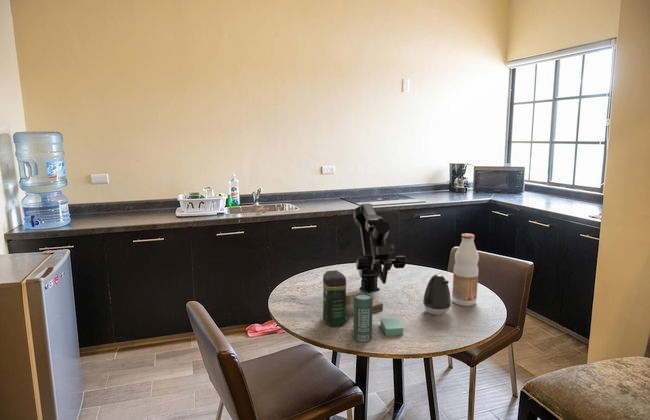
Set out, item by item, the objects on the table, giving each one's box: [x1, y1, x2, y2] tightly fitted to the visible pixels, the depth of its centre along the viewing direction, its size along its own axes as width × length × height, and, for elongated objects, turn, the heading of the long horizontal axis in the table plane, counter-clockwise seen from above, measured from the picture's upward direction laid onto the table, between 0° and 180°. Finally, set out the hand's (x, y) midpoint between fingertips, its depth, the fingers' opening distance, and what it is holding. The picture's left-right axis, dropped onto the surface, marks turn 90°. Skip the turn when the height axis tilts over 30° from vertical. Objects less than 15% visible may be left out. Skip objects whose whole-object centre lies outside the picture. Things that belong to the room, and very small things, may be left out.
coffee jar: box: [322, 270, 347, 327], centre depth 161 cm, size 10×8×19 cm
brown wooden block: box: [372, 298, 384, 313], centre depth 175 cm, size 3×6×8 cm
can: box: [352, 292, 374, 343], centre depth 149 cm, size 6×6×15 cm
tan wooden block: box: [346, 290, 361, 317], centre depth 169 cm, size 3×6×8 cm, turn 124°
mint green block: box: [380, 317, 404, 336], centre depth 156 cm, size 3×6×8 cm
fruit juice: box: [451, 232, 480, 307], centre depth 177 cm, size 9×9×28 cm
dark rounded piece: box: [422, 274, 452, 316], centre depth 169 cm, size 10×10×15 cm
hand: (384, 283), depth 166 cm, fingers closed
